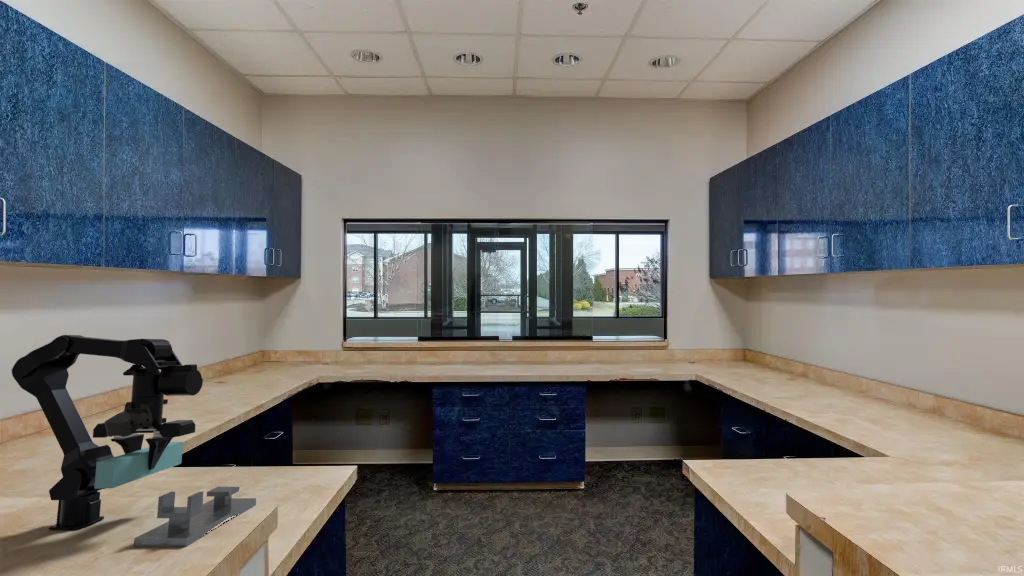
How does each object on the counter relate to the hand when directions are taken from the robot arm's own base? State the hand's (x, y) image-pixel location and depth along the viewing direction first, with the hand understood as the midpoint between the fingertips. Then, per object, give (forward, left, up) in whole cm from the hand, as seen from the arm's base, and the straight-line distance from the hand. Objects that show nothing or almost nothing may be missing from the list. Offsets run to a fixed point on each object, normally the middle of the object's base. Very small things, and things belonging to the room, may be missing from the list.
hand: (142, 469), depth 104 cm
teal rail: (0, 0, -1) cm, 1 cm away
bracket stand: (+14, 0, -11) cm, 18 cm away
